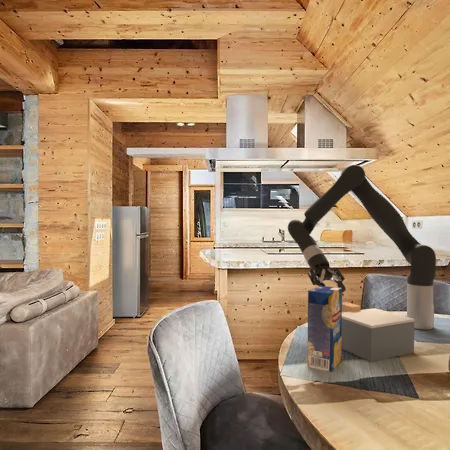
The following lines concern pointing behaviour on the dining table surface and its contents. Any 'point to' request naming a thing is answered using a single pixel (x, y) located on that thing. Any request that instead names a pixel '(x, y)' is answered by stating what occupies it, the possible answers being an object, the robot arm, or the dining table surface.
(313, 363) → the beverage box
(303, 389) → the dining table surface
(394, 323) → the lid flap
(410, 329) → the carton
